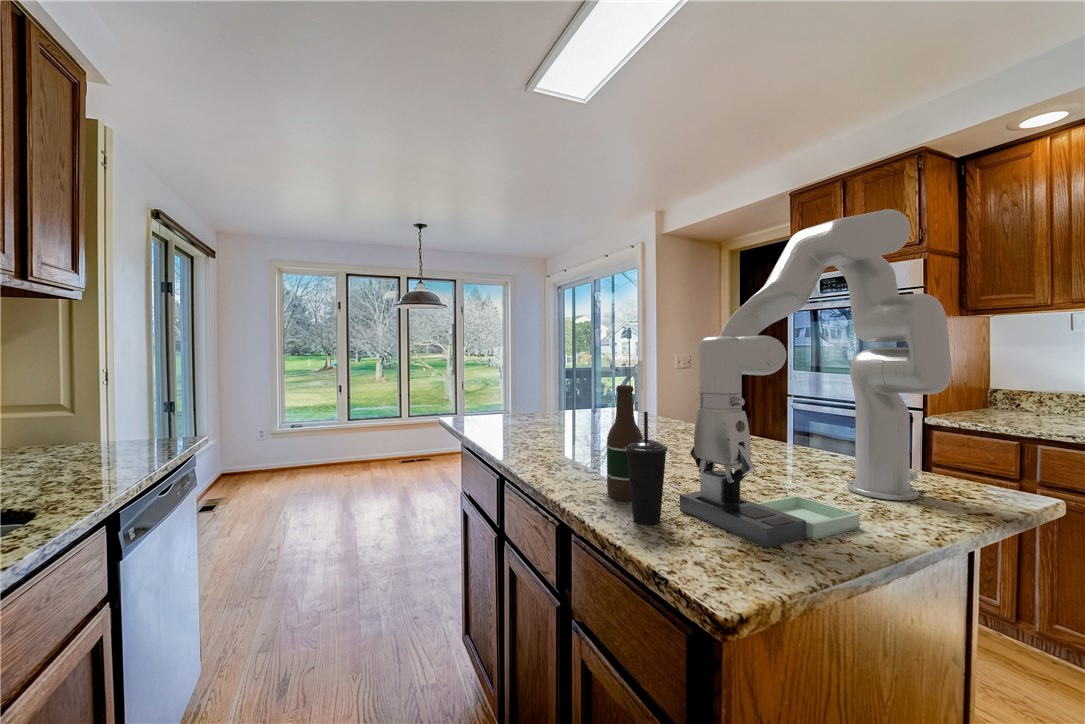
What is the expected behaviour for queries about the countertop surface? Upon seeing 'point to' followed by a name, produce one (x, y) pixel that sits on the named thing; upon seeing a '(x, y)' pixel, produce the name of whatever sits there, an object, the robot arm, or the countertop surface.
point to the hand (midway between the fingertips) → (720, 497)
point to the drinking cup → (646, 477)
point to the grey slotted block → (747, 520)
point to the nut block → (714, 488)
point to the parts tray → (816, 516)
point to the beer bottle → (621, 445)
